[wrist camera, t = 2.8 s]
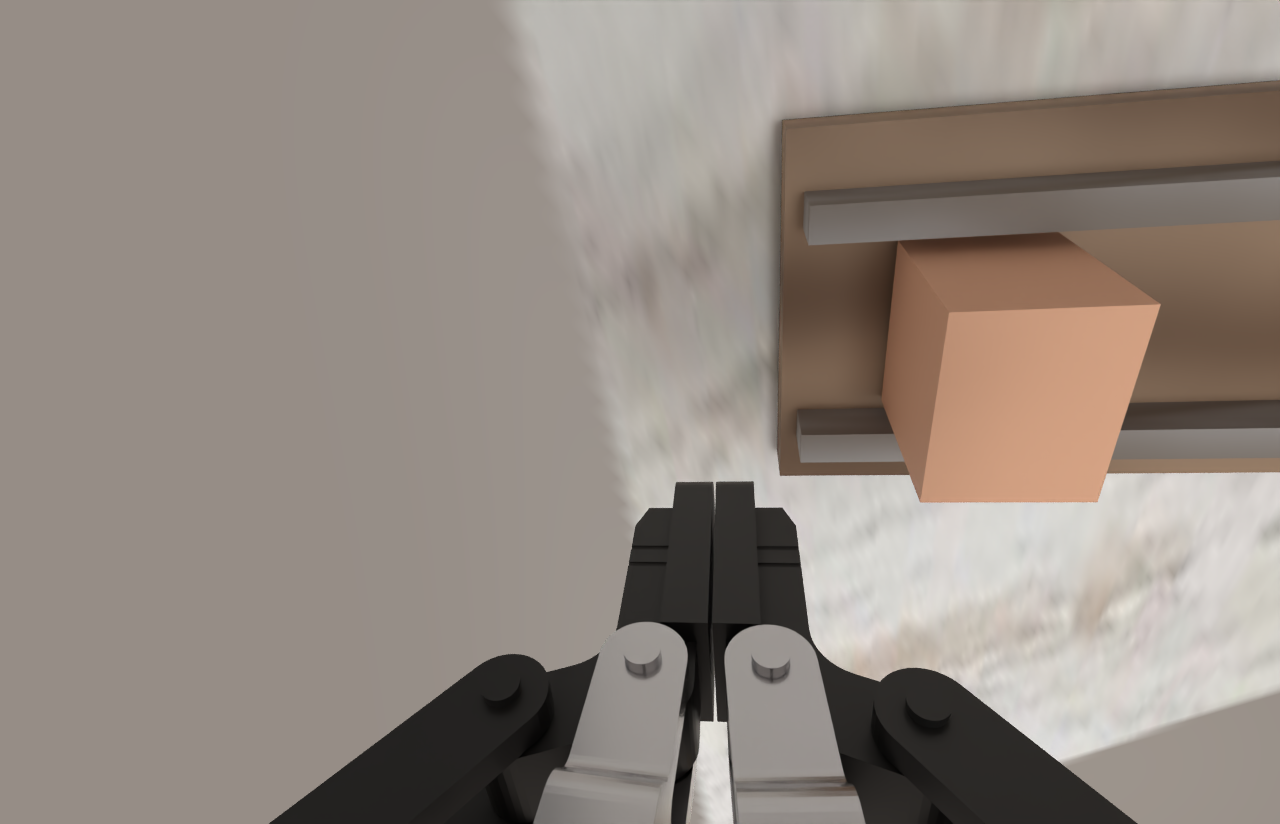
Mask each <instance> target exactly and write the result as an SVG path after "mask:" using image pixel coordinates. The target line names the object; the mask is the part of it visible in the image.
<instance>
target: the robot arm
mask: <svg viewBox="0 0 1280 824" xmlns="http://www.w3.org/2000/svg"><path fill="white" fill-rule="evenodd" d="M714 677H715V685H716V703H717V721H719V722H727V730H728V750H729V751H728V753H729V774H730V787H731V799H732V812H733V824H1137V823H1136V822H1135V821H1133V820H1132V819H1131V818H1130V817H1128V816H1127V815H1125V813H1123V812H1122V811H1120V810H1119V809H1118V808H1117V807H1116V806H1114V805H1113V804H1112V803H1110V802H1109V801H1108V800H1107V799H1105V798H1104V797H1103V796H1102V795H1100V794H1099V793H1098V792H1096V791H1095V790H1094V789H1093V788H1091V787H1090V786H1089V785H1088V784H1086V783H1085V782H1084V781H1082V780H1081V779H1080V778H1079V777H1077V776H1076V775H1075V774H1074V773H1072V772H1071V771H1070V770H1068V769H1067V768H1066V767H1065V766H1063V765H1062V764H1061V763H1060V762H1058V761H1057V760H1056V759H1054V758H1053V757H1052V756H1051V755H1049V754H1048V753H1047V752H1046V751H1044V750H1043V749H1042V748H1040V747H1039V746H1038V745H1037V744H1035V743H1034V742H1033V741H1032V740H1030V739H1029V738H1028V737H1026V736H1025V735H1024V734H1023V733H1021V732H1020V731H1019V730H1018V729H1016V728H1015V727H1014V726H1012V725H1011V724H1010V723H1009V722H1007V721H1006V720H1005V719H1004V718H1002V717H1001V716H1000V715H998V714H997V713H996V712H995V711H993V710H992V709H991V708H989V707H988V706H987V705H986V704H984V703H983V702H982V701H981V700H979V699H978V698H977V697H975V696H974V695H973V694H972V693H970V692H969V691H968V690H967V689H965V688H964V687H963V686H961V685H960V684H959V683H957V682H956V681H954V680H953V679H951V678H949V677H947V676H945V675H943V674H941V673H938V672H936V671H932V670H928V669H922V668H906V669H900V670H897V671H894V672H892V673H890V674H889V675H887V676H886V677H885V678H883V679H882V680H881V682H879V681H876V680H872V679H869V678H866V677H863V676H859V675H856V674H853V673H851V672H848V671H845V670H843V669H841V668H839V667H837V666H836V665H834V664H833V663H831V662H830V661H829V660H828V659H826V658H825V657H824V656H823V655H822V654H821V653H820V651H819V650H818V649H817V648H816V646H815V644H814V643H813V641H812V638H811V636H810V631H809V625H808V617H807V609H806V601H805V594H804V586H803V578H802V570H801V563H800V555H799V550H798V539H797V531H796V525H795V524H794V523H793V521H792V520H791V519H790V517H789V516H788V515H787V513H786V512H785V511H784V510H783V508H755V500H754V482H753V481H751V482H716V503H715V502H714V484H713V482H676V486H675V494H674V503H673V508H649V509H648V511H647V512H646V513H645V515H644V516H643V517H642V518H641V520H640V521H639V522H638V523H637V525H636V527H635V532H634V538H633V543H632V550H631V554H630V560H629V566H628V571H627V576H626V582H625V587H624V593H623V598H622V604H621V609H620V615H619V620H618V626H617V629H616V632H614V633H613V634H612V635H611V636H610V637H609V638H608V639H607V640H606V641H605V643H604V644H603V646H602V648H601V651H600V653H598V654H597V655H596V656H594V657H593V658H591V659H589V660H587V661H585V662H582V663H580V664H576V665H573V666H570V667H566V668H561V669H558V670H554V671H550V672H546V671H545V669H544V668H543V666H542V665H541V664H540V663H539V662H537V661H536V660H535V659H533V658H530V657H528V656H525V655H519V654H508V655H502V656H498V657H495V658H492V659H490V660H488V661H486V662H484V663H482V664H481V665H479V666H478V667H476V668H475V669H474V670H473V671H471V672H470V673H468V674H467V675H466V676H464V677H463V678H462V679H460V680H459V681H458V682H456V683H455V684H454V685H452V686H451V687H450V688H448V689H447V690H446V691H444V692H443V693H442V694H440V695H439V696H438V697H436V698H435V699H434V700H432V701H431V702H430V703H429V704H427V705H426V706H425V707H423V708H422V709H421V710H419V711H418V712H416V713H415V714H414V715H412V716H411V717H410V718H409V719H407V720H406V721H405V722H403V723H402V724H401V725H399V726H398V727H397V728H395V729H394V730H393V731H391V732H390V733H389V734H387V735H386V736H385V737H383V738H382V739H381V740H379V741H378V742H377V743H375V744H374V745H373V746H371V747H370V748H369V749H367V750H366V751H365V752H363V753H362V754H361V755H359V756H358V757H357V758H355V759H354V760H353V761H351V762H350V763H349V764H347V765H346V766H345V767H343V768H342V769H341V770H340V771H338V772H337V773H336V774H334V775H333V776H332V777H330V778H329V779H328V780H326V781H325V782H324V783H322V784H321V785H320V786H318V787H317V788H316V789H315V790H313V791H312V792H310V793H309V794H308V795H306V796H305V797H304V798H302V799H301V800H300V801H298V802H297V803H296V804H294V805H293V806H292V807H290V808H289V809H288V810H287V811H285V812H284V813H283V814H281V815H280V816H278V817H277V818H276V819H275V820H273V821H272V822H270V823H269V824H690V818H691V810H692V802H693V794H694V786H695V778H696V770H697V760H696V758H697V755H698V751H699V737H700V721H712V722H713V721H714Z"/></svg>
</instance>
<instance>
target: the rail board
mask: <svg viewBox="0 0 1280 824" xmlns="http://www.w3.org/2000/svg"><path fill="white" fill-rule="evenodd" d="M1048 232H1059V233H1060V234H1062V235H1063V236H1065V237H1066V238H1067V239H1069V240H1070V241H1072V242H1073V243H1075V244H1076V245H1077V246H1079V247H1080V248H1082V249H1083V250H1085V251H1086V252H1087V253H1089V254H1090V255H1092V256H1093V257H1094V258H1096V259H1097V260H1099V261H1100V262H1102V263H1103V264H1104V265H1106V266H1107V267H1109V268H1110V269H1111V270H1113V271H1114V272H1116V273H1117V274H1119V275H1120V276H1121V277H1123V278H1124V279H1126V280H1127V281H1128V282H1130V283H1131V284H1133V285H1134V286H1136V287H1137V288H1138V289H1140V290H1141V291H1143V292H1144V293H1146V294H1147V295H1148V296H1150V297H1151V298H1153V299H1154V300H1155V301H1157V302H1158V303H1160V304H1161V305H1160V309H1159V312H1158V315H1157V318H1156V321H1155V324H1154V327H1153V330H1152V333H1151V337H1150V340H1149V343H1148V346H1147V349H1146V352H1145V355H1144V358H1143V361H1142V365H1141V368H1140V371H1139V374H1138V377H1137V380H1136V383H1135V386H1134V389H1133V393H1132V396H1131V399H1130V402H1129V405H1128V408H1127V411H1126V414H1125V418H1124V421H1123V424H1122V427H1121V430H1120V433H1119V436H1118V439H1117V442H1116V446H1115V449H1114V452H1113V455H1112V458H1111V461H1110V464H1109V467H1108V470H1107V473H1232V472H1280V81H1267V82H1255V83H1242V84H1230V85H1217V86H1205V87H1192V88H1180V89H1167V90H1154V91H1142V92H1129V93H1117V94H1104V95H1092V96H1079V97H1067V98H1054V99H1042V100H1029V101H1016V102H1004V103H991V104H979V105H966V106H954V107H941V108H929V109H916V110H903V111H891V112H878V113H866V114H853V115H841V116H828V117H816V118H803V119H791V120H782V180H781V245H780V309H779V374H778V439H777V452H778V462H779V471H780V476H800V475H910V474H909V472H908V469H907V466H906V464H905V461H904V458H903V456H902V453H901V451H900V448H899V445H898V443H897V440H896V437H895V435H894V432H893V430H892V427H891V424H890V422H889V419H888V417H887V414H886V411H885V409H884V406H883V403H882V401H881V397H882V388H883V378H884V369H885V359H886V350H887V340H888V331H889V321H890V312H891V302H892V293H893V283H894V274H895V264H896V254H897V245H898V241H900V240H918V239H937V238H955V237H974V236H993V235H1011V234H1030V233H1048Z"/></svg>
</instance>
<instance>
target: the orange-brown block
mask: <svg viewBox="0 0 1280 824" xmlns="http://www.w3.org/2000/svg"><path fill="white" fill-rule="evenodd" d="M1160 305H1161V304H1160V303H1158V302H1157V301H1155V300H1154V299H1153V298H1151V297H1150V296H1148V295H1147V294H1146V293H1144V292H1143V291H1141V290H1140V289H1138V288H1137V287H1136V286H1134V285H1133V284H1131V283H1130V282H1128V281H1127V280H1126V279H1124V278H1123V277H1121V276H1120V275H1119V274H1117V273H1116V272H1114V271H1113V270H1111V269H1110V268H1109V267H1107V266H1106V265H1104V264H1103V263H1102V262H1100V261H1099V260H1097V259H1096V258H1094V257H1093V256H1092V255H1090V254H1089V253H1087V252H1086V251H1085V250H1083V249H1082V248H1080V247H1079V246H1077V245H1076V244H1075V243H1073V242H1072V241H1070V240H1069V239H1067V238H1066V237H1065V236H1063V235H1062V234H1060V233H1059V232H1048V233H1030V234H1011V235H993V236H974V237H955V238H937V239H918V240H900V241H898V245H897V254H896V264H895V274H894V283H893V293H892V302H891V312H890V321H889V331H888V340H887V350H886V359H885V369H884V378H883V388H882V397H881V401H882V403H883V406H884V409H885V411H886V414H887V417H888V419H889V422H890V424H891V427H892V430H893V432H894V435H895V437H896V440H897V443H898V445H899V448H900V451H901V453H902V456H903V458H904V461H905V464H906V466H907V469H908V472H909V474H910V477H911V479H912V482H913V485H914V487H915V490H916V493H917V495H918V498H919V500H920V502H1098V498H1099V495H1100V492H1101V489H1102V486H1103V483H1104V480H1105V477H1106V474H1107V470H1108V467H1109V464H1110V461H1111V458H1112V455H1113V452H1114V449H1115V446H1116V442H1117V439H1118V436H1119V433H1120V430H1121V427H1122V424H1123V421H1124V418H1125V414H1126V411H1127V408H1128V405H1129V402H1130V399H1131V396H1132V393H1133V389H1134V386H1135V383H1136V380H1137V377H1138V374H1139V371H1140V368H1141V365H1142V361H1143V358H1144V355H1145V352H1146V349H1147V346H1148V343H1149V340H1150V337H1151V333H1152V330H1153V327H1154V324H1155V321H1156V318H1157V315H1158V312H1159V309H1160Z"/></svg>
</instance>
